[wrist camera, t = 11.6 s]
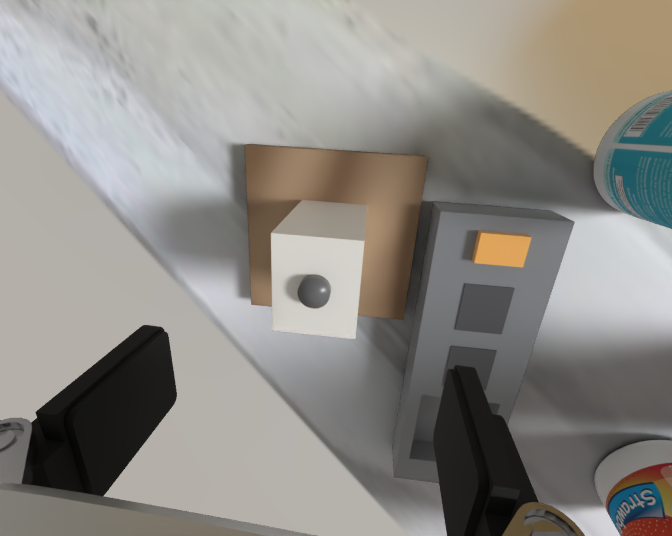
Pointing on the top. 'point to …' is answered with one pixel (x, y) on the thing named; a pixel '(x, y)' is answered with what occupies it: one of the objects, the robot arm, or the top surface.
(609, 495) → the fruit juice
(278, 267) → the block
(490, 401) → the power strip
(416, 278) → the top surface
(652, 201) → the pill bottle
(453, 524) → the robot arm
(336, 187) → the walnut mat
